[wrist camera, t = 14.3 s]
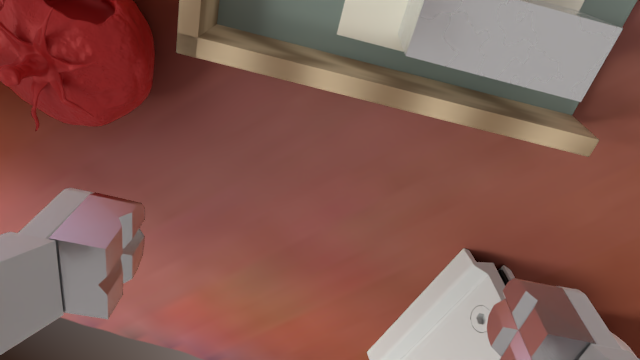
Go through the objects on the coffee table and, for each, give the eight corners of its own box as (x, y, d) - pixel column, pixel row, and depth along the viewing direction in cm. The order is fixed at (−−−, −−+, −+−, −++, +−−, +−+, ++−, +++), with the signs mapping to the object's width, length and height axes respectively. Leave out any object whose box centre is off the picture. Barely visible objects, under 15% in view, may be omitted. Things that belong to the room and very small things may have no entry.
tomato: (185, 100, 33) (132, 160, 25) (59, 104, 34) (-30, 163, 26) (152, -47, 28) (73, -30, 20) (4, -38, 29) (-126, -19, 21)
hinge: (466, 245, 38) (536, 351, 30) (502, 254, 40) (576, 356, 32) (364, 354, 46) (399, 460, 38) (399, 357, 48) (439, 458, 40)
